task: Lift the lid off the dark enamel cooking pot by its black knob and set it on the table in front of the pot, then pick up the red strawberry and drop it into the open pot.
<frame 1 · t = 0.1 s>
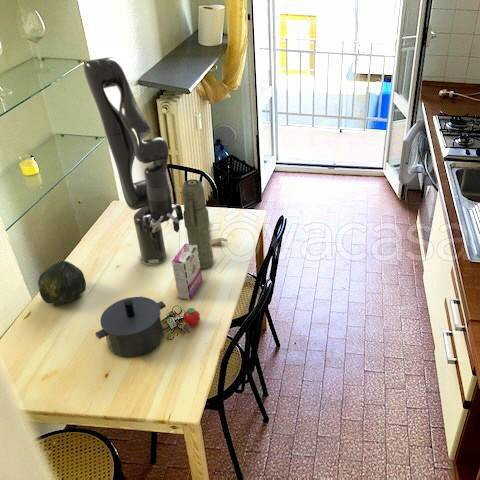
hand: (165, 235, 182), 17 cm above the table, tool pointing down, fingers open, 8 cm apart
squash: (66, 296, 180), on the table
candy bar box: (190, 290, 184), on the table
lid: (131, 316, 158), point 9 cm above the table, touching pot
pot: (136, 338, 163), on the table
jawbone: (216, 234, 216), on the table
thermos: (202, 264, 198), on the table
strawberry: (192, 323, 169), on the table
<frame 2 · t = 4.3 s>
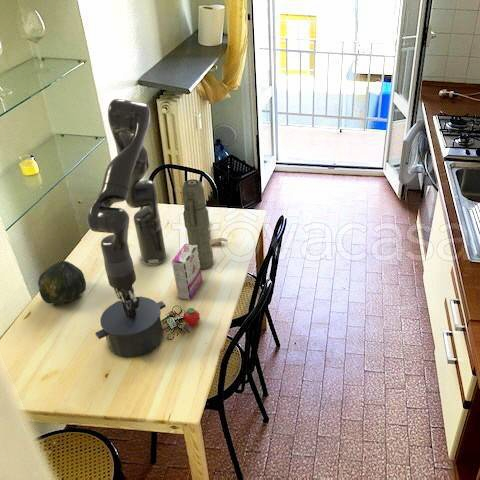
hand: (130, 313, 157), 10 cm above the table, tool pointing down, fingers closed on lid, 2 cm apart
lid: (131, 316, 158), point 9 cm above the table, touching gripper, pot
everything else where it was.
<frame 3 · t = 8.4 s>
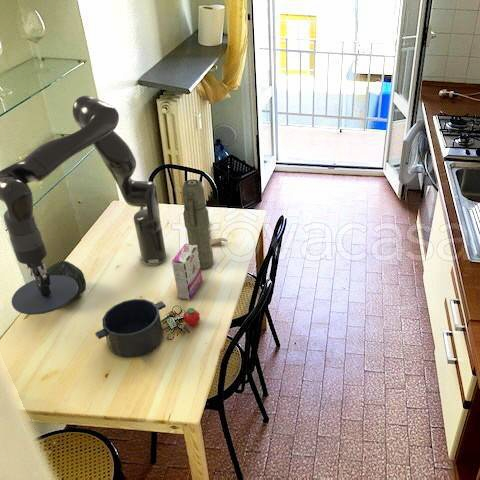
hand: (44, 292, 149), 20 cm above the table, tool pointing down, fingers closed on lid, 2 cm apart
lid: (45, 294, 150), point 19 cm above the table, touching gripper
everything else where it was.
when the fingers open (2 cm above the table, at t = 12.6 s): lid stays where it is, point 1 cm above the table.
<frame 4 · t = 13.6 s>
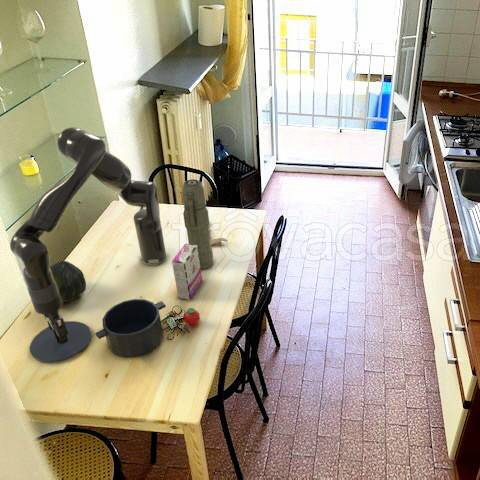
hand: (59, 334, 159), 3 cm above the table, tool pointing down, fingers open, 8 cm apart
lid: (61, 341, 160), point 1 cm above the table
everything else where it was.
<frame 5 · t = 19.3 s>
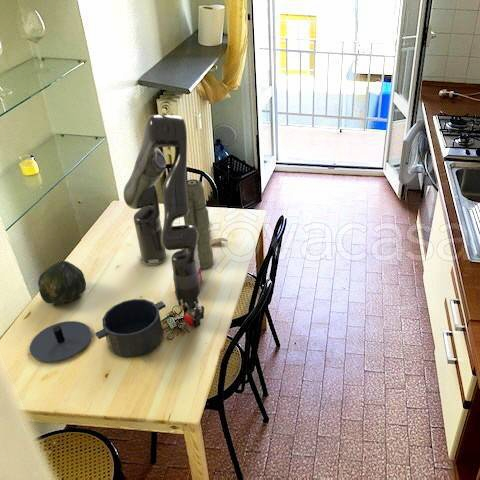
hand: (192, 322, 169), 1 cm above the table, tool pointing down, fingers closed on strawberry, 5 cm apart
strawberry: (192, 323, 169), on the table, touching gripper
everything else where it was.
when the fingers open (8 cm above the table, at t = 27.0 s): strawberry drops 7 cm, resting on pot.
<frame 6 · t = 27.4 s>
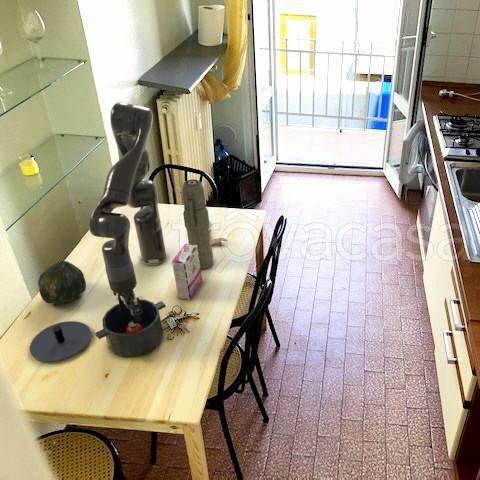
hand: (130, 315, 158), 10 cm above the table, tool pointing down, fingers open, 8 cm apart
strawberry: (136, 337, 163), resting on pot
everything else where it was.
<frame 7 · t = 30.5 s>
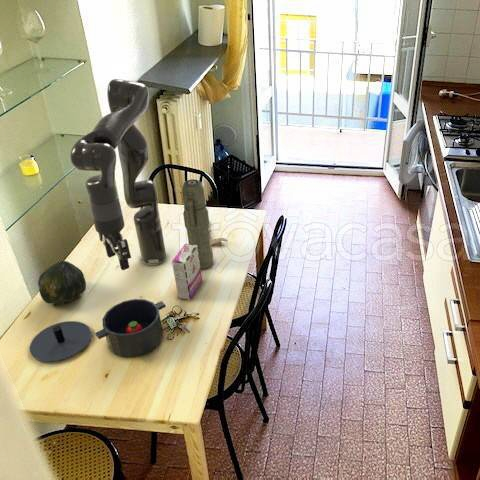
hand: (118, 262, 147), 30 cm above the table, tool pointing down, fingers open, 8 cm apart
nothing on the table moved.
at the end: lid inside the target area (0.1 cm from its centre), point 0.6 cm above the table; strawberry inside the target area in the pot (0.0 cm from its centre), point 0.5 cm above the pot's base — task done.
